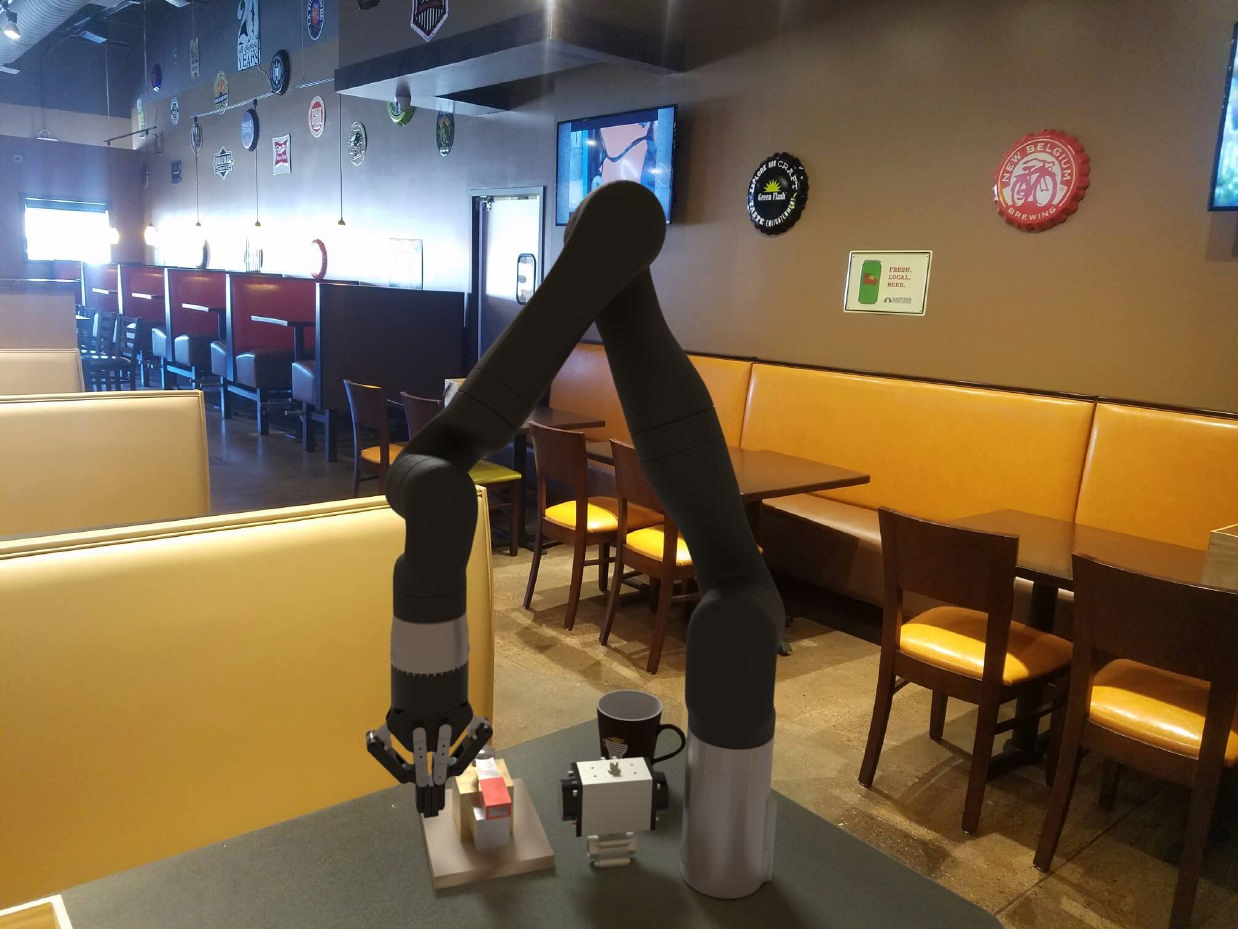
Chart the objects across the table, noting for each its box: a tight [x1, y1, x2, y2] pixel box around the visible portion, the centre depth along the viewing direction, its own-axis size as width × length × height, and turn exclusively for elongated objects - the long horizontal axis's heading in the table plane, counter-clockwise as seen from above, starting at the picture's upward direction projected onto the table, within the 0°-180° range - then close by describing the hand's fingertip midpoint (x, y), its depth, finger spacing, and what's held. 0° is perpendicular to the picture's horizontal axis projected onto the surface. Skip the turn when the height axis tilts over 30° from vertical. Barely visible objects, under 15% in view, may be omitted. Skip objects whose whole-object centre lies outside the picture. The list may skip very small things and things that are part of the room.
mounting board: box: [418, 777, 555, 890], centre depth 101 cm, size 13×16×2 cm
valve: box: [451, 758, 514, 858], centre depth 100 cm, size 6×13×7 cm, turn 19°
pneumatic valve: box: [557, 756, 670, 869], centre depth 97 cm, size 6×12×12 cm, turn 101°
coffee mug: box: [596, 689, 687, 768], centre depth 112 cm, size 12×9×10 cm
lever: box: [470, 744, 511, 820], centre depth 94 cm, size 12×3×2 cm, turn 17°
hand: (429, 813), depth 89 cm, fingers closed
